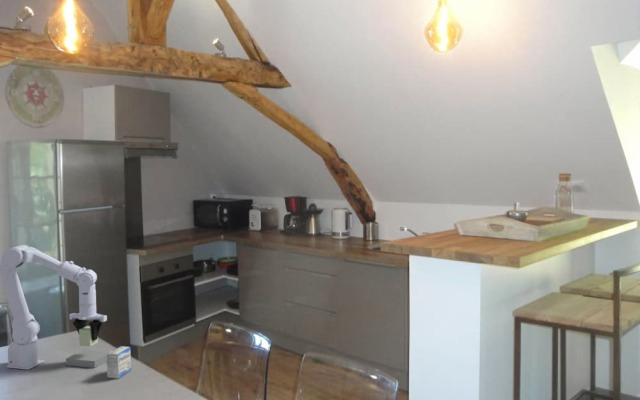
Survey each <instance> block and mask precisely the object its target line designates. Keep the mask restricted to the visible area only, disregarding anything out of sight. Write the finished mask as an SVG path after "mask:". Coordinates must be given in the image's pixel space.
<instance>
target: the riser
mask: <svg viewBox="0 0 640 400" xmlns="http://www.w3.org/2000/svg"><path fill="white" fill-rule="evenodd" d="M110 352H111V351H107V350H95V349H82V350H80V351H78V352H76V353H74V354H72V355H71V356H69V357H66V358H65V365H66V366H67V367H68V366H70V367H81V368H91V369H96V368H97V367H99V366H101V365H103V364H104V363H107V354H108V353H110Z"/></svg>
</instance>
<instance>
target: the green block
mask: <svg viewBox="0 0 640 400" xmlns="http://www.w3.org/2000/svg"><path fill="white" fill-rule="evenodd" d="M78 339H79V346H82V347H92V346H94V345H96V344H98V343H99V337H98V338H97V339H96V340H94V341H92V333H91V328H90V325H86V327H84V328H81V329H79V333H78Z"/></svg>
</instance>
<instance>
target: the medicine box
mask: <svg viewBox="0 0 640 400" xmlns="http://www.w3.org/2000/svg"><path fill="white" fill-rule="evenodd" d="M109 352H110V353H108V354H107V361H106V372H107V373H106V374H107V375H106V376H107V378H108V379H116V380H118V379H121V378H122V377H124V376H125V375H126V374H127V373H129V372H130V371H132V360H131V359H132V357H131V355H132V354H131V353H132V352H131V347H130V346H123V345H122V346H118V347H117V348H115V349H113V350H112V351H109Z"/></svg>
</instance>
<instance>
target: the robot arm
mask: <svg viewBox="0 0 640 400" xmlns="http://www.w3.org/2000/svg"><path fill="white" fill-rule="evenodd" d="M0 258H1V262H0V280H1V284H2V287H3V290H4V294H5V296H6V299H7V303H8V307H9V309H10V313H11V316H12V319H13V320H12V322H11V328H12V334H11V338H12V340H13V341H12V342H10V343H9V345H8V348H7V359H8V360H7V363H8V365H7V366H6V368H8V369H9V368H11V369H19V370H20V369H21V370H30V369H32V368H34V367H37V366H39V365H41V364H43V363H45V360H43V359H42V360H41V359H39V338H38V334H39V332H40V330H41V326H40V324H39V322H37V320H36V319H35V316H34V315H33V314H31V312H30V311H29V306H28V303H27V301H26V298H25V294H24V291H23V290H24V289H23V288H22V284H21V281H20V277H19V275H18V272H19V270H20V269H21V267H22V266H23V265H24V264H29V263H38V264H39V265H42V266H45V267H46V268H49V269H52V270H54V271H56V272H57V274H58V276H60V277H62V278H63V279H64V278H65V279H66V280H68V281H71V282H73V283H76V285H77V286H78V303H79V304H78V305H79V312H78V313H76V312H73V313H70V314H69V321H70V320H71V321H72V320H74V321H73V322H72V325H73V326H74V328H75V329H76V331H77V333H78V334H79V329H81V328H84V327H86V326H87V323H88V321H90V322H89V323H88V326H90V328H91V333H92V341H94V340H96V339H97V338H98V339H99V334H100V330H101V328H102V325H103V324H104V322H107V321H108V315H107V314H106V315H105V314H101V313H97V291H96V282H97V280H98V275H97V273H96V272H95V271H94V270H93V269H92V268H91V269H87V268H86V267H81V266H79V265H76V264H74V261H73V260H70V261H67V260H65V261H63V262H62V261H59V260H58V259H56V258H54V257H52V256H51V255H48V254H46V253H44V252H42V251H41V250H39V249H37V248H35V247H34V246H33V247H32V246H29V245H28V244H25V243H23V244H19V245H17V246H14V247H10V248H8V249H7V250H5V252H4V253H3V254H2V255H1V257H0Z"/></svg>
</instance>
